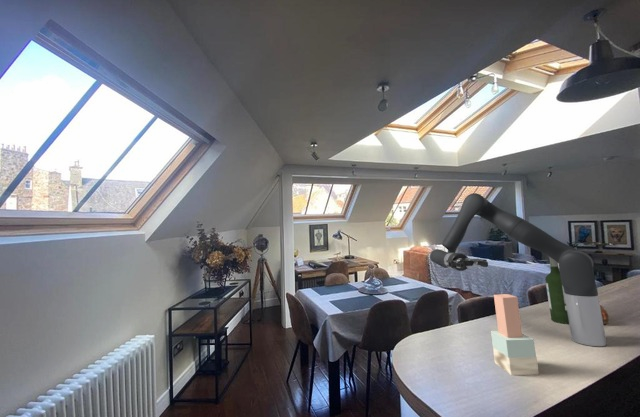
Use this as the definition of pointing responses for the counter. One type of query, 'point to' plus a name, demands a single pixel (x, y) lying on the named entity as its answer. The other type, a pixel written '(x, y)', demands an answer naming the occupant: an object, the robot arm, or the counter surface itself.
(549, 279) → the wine bottle
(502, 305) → the peach block
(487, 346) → the counter surface
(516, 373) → the tower base block
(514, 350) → the tower top block
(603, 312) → the tin
